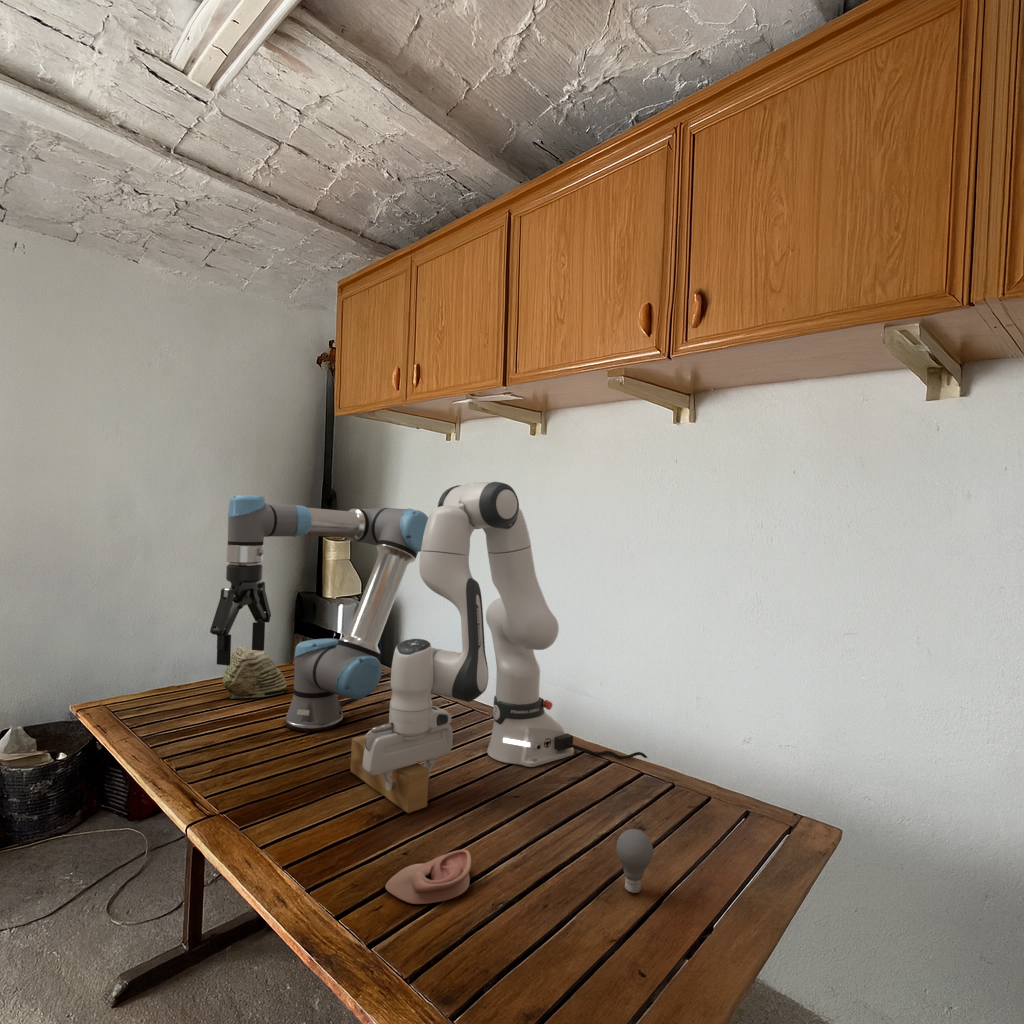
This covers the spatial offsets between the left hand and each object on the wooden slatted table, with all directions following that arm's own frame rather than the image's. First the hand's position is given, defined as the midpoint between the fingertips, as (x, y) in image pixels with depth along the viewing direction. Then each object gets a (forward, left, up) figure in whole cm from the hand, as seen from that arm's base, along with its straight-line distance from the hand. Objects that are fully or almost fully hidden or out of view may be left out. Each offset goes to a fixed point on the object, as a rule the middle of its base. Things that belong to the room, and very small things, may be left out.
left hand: (241, 657), depth 143 cm
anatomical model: (0, +62, -26) cm, 68 cm away
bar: (-18, +30, -26) cm, 44 cm away
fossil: (-31, -48, -26) cm, 63 cm away
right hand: (-17, +38, -22) cm, 47 cm away
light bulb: (-22, +88, -26) cm, 95 cm away
